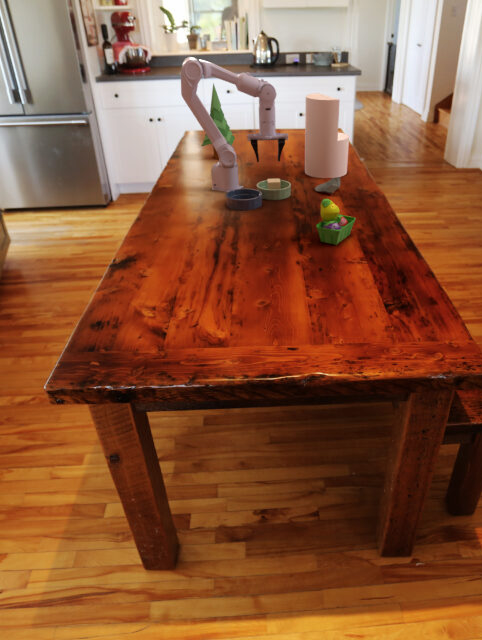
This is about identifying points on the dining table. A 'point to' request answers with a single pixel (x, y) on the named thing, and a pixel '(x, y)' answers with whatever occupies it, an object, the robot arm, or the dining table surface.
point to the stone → (329, 186)
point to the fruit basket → (333, 223)
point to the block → (274, 184)
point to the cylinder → (324, 138)
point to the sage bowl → (274, 194)
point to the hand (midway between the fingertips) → (268, 161)
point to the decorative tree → (218, 122)
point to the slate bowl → (243, 199)
